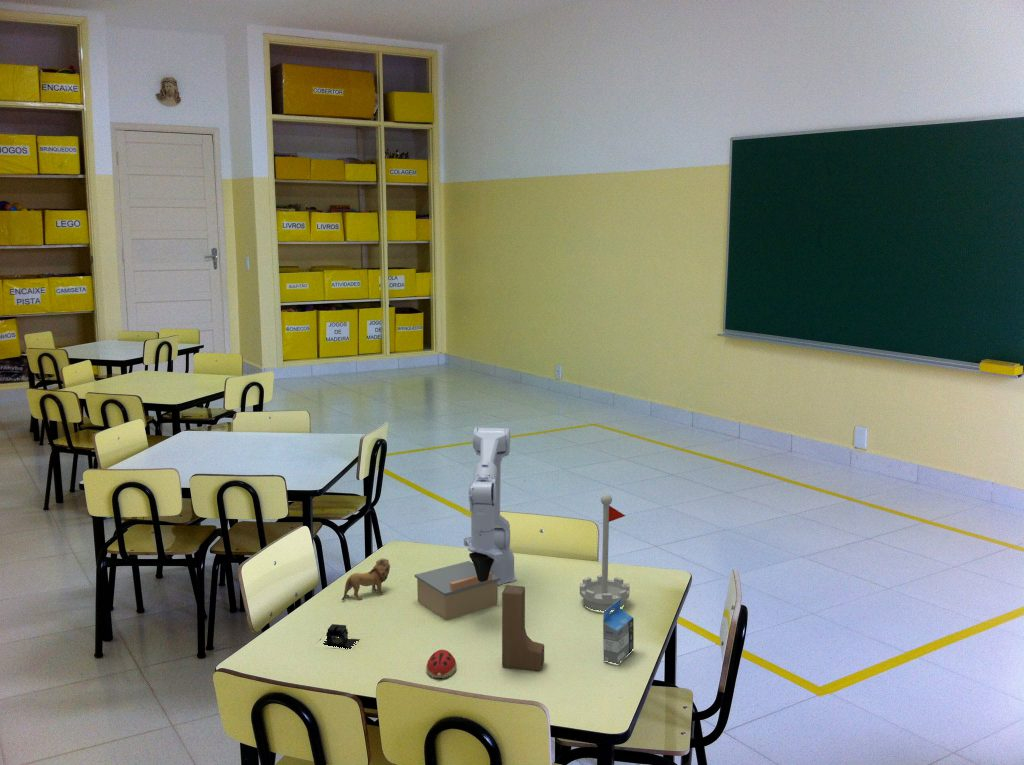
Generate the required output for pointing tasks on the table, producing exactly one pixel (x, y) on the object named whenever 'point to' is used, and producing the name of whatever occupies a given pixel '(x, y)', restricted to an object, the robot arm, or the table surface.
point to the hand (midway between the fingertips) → (482, 580)
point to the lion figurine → (368, 579)
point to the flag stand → (605, 571)
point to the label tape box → (617, 634)
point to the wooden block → (518, 633)
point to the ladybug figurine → (441, 664)
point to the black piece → (342, 633)
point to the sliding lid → (454, 578)
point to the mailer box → (458, 599)
